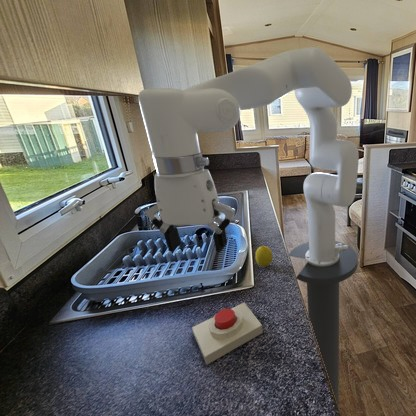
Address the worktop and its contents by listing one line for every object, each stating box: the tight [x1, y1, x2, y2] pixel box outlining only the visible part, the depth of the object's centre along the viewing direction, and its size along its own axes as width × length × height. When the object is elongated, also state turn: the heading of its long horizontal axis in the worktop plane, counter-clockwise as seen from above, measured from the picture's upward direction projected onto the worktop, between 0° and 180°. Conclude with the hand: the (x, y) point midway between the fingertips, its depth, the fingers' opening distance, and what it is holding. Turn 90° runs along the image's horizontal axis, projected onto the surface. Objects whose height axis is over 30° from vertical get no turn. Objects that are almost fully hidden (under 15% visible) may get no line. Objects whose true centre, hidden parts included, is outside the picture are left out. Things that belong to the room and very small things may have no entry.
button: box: [214, 308, 236, 330], centre depth 60 cm, size 4×4×2 cm
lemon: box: [254, 245, 274, 268], centre depth 86 cm, size 6×6×8 cm
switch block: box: [191, 302, 264, 365], centre depth 61 cm, size 13×10×4 cm
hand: (198, 248), depth 53 cm, fingers open, 9 cm apart
